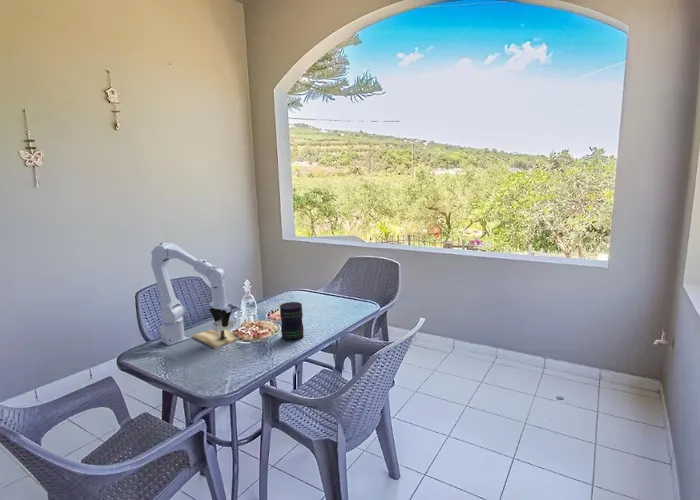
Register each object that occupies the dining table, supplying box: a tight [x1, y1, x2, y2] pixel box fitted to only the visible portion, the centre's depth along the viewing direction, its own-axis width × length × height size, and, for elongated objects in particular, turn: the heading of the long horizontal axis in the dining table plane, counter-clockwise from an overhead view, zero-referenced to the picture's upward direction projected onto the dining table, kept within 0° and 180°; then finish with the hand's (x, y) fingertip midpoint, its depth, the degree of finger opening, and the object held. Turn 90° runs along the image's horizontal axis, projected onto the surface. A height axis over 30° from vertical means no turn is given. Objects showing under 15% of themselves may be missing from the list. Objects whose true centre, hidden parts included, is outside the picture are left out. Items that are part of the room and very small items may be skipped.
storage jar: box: [279, 301, 305, 342], centre depth 194 cm, size 10×10×15 cm
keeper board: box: [191, 329, 238, 349], centre depth 197 cm, size 14×20×5 cm
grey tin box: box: [209, 318, 234, 332], centre depth 193 cm, size 8×6×3 cm
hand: (221, 324), depth 193 cm, fingers closed on grey tin box, 6 cm apart
